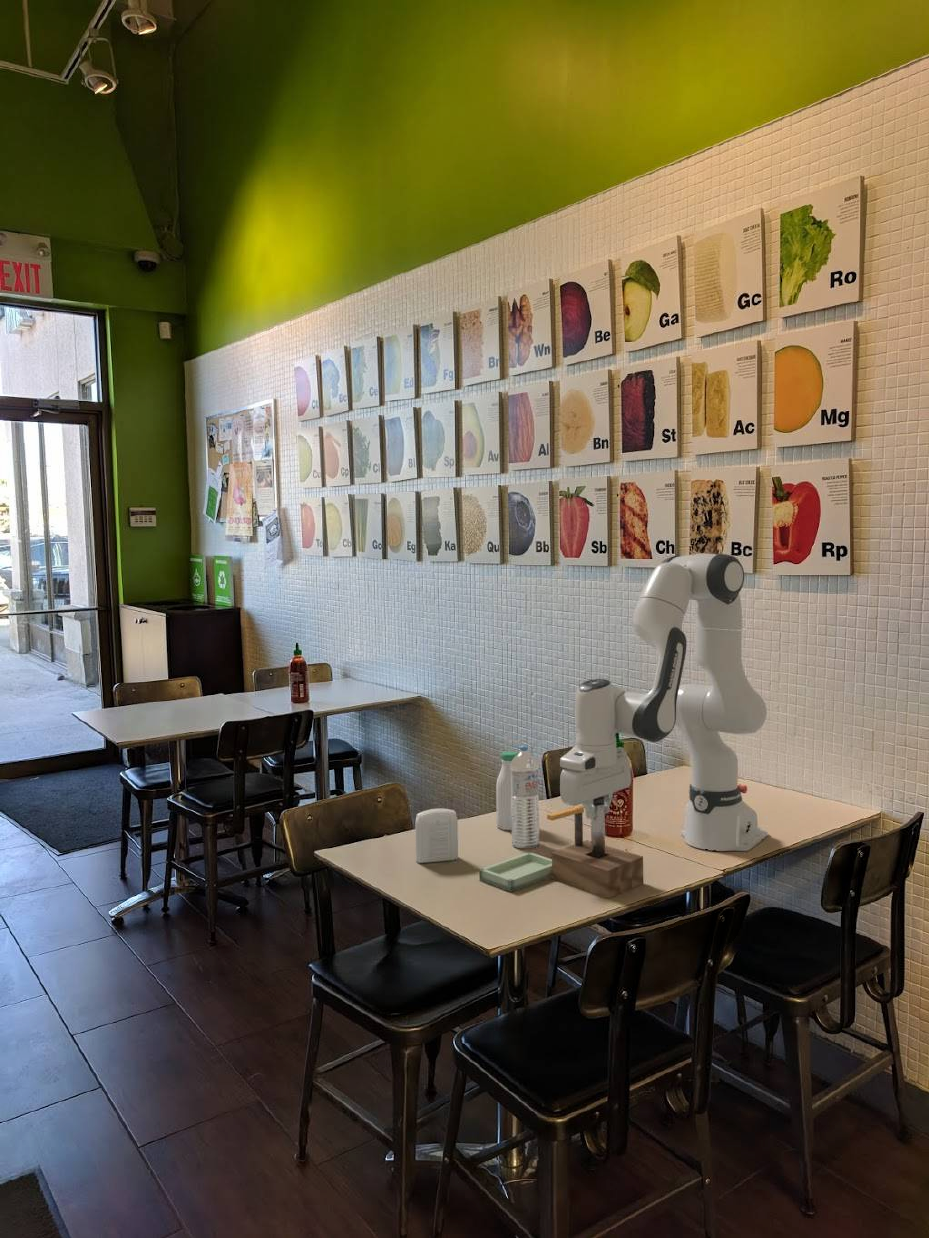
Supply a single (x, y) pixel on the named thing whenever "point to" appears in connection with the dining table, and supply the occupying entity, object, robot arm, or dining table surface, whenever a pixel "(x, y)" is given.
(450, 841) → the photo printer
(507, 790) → the milk bottle
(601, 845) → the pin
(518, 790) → the water bottle
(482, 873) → the tray
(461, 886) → the dining table surface
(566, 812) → the bar
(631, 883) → the block
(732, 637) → the robot arm
